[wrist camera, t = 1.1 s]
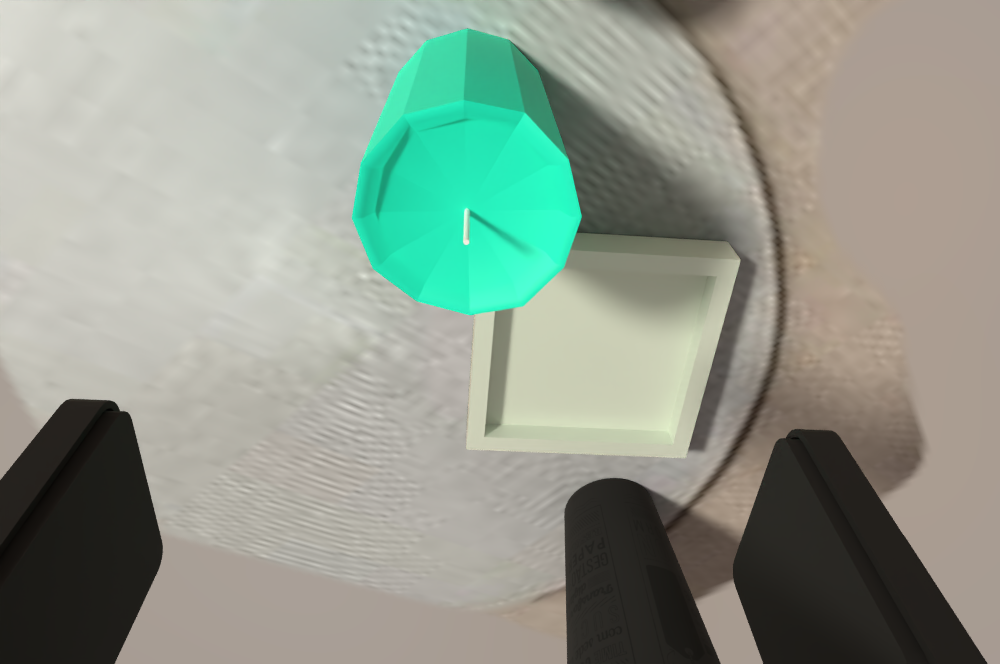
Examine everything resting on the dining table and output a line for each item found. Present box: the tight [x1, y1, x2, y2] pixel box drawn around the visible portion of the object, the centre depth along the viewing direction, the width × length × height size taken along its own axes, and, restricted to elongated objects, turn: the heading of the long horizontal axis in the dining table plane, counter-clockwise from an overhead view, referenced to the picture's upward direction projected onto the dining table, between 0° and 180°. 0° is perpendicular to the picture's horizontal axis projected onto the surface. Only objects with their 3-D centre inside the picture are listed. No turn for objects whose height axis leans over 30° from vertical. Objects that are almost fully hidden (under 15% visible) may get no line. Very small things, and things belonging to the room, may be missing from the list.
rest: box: [466, 233, 741, 458], centre depth 33 cm, size 11×11×2 cm
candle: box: [352, 28, 582, 315], centre depth 23 cm, size 6×6×12 cm
